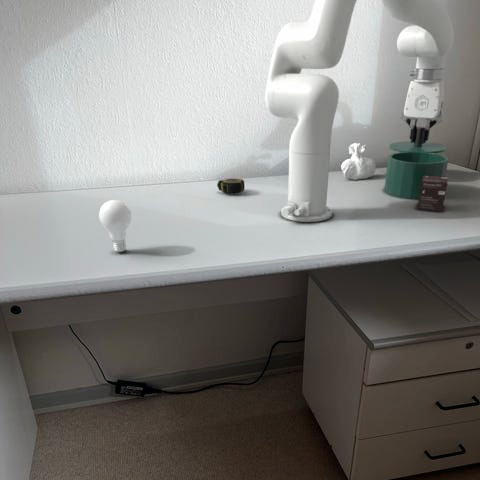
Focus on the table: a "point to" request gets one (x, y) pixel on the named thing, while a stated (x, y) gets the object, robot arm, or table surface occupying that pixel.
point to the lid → (418, 145)
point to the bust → (358, 164)
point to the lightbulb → (116, 222)
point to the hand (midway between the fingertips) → (418, 142)
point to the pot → (412, 172)
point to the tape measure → (231, 186)
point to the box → (432, 193)
